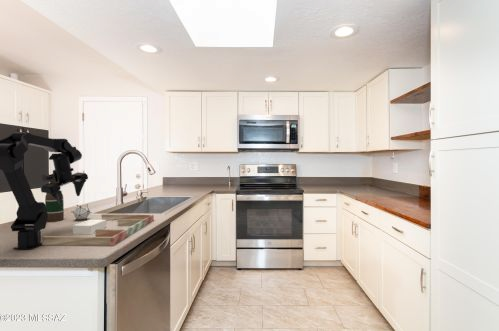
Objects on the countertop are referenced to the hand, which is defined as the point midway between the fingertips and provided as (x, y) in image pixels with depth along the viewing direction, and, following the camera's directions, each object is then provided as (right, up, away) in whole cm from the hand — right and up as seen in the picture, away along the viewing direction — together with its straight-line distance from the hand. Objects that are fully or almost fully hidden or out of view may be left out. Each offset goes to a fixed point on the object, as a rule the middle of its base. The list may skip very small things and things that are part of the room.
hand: (69, 199), depth 120 cm
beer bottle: (-20, -13, +18) cm, 30 cm away
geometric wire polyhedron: (-7, -13, +20) cm, 25 cm away
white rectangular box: (+10, -14, -1) cm, 17 cm away
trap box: (+17, -14, -1) cm, 22 cm away
